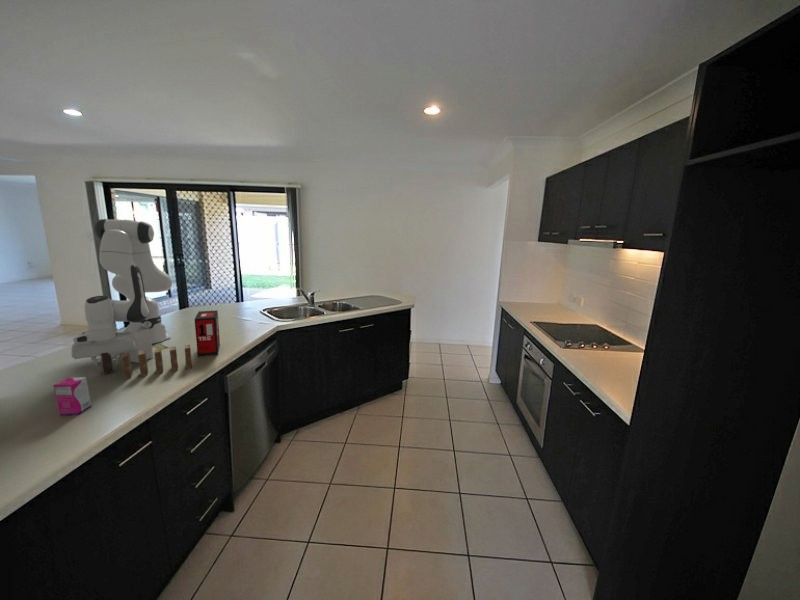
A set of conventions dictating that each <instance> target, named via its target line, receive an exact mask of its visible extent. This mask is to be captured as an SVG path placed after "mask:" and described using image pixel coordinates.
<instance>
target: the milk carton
mask: <svg viewBox="0 0 800 600" xmlns="http://www.w3.org/2000/svg"><path fill="white" fill-rule="evenodd" d="M128 331H129V332H132V333H134V334H135V339H134V342H135V346H136V349H135V350H134V351H133V352H130V359H131V363H138V364H139V358H138V353H139V351H143V350H146V357H147V361H148V360H150V359H153V358H154V353H153V344H152V343H151V335H150V329H149V328H147V327H145V326H144V325H143V324H142V323H139V322H129V324H128V325H127V326H126V327H125V329H124V330H123V331H122V332H128ZM130 334H131V333H130ZM126 353H128V352H126Z"/></svg>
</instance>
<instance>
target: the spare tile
mask: <svg viewBox="0 0 800 600" xmlns="http://www.w3.org/2000/svg"><path fill="white" fill-rule="evenodd" d="M100 358H101V366H102V371H103V376H110V375H112V373H113V372H114V369H113V360H112V354H111V355H108V353H101V356H100Z"/></svg>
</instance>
